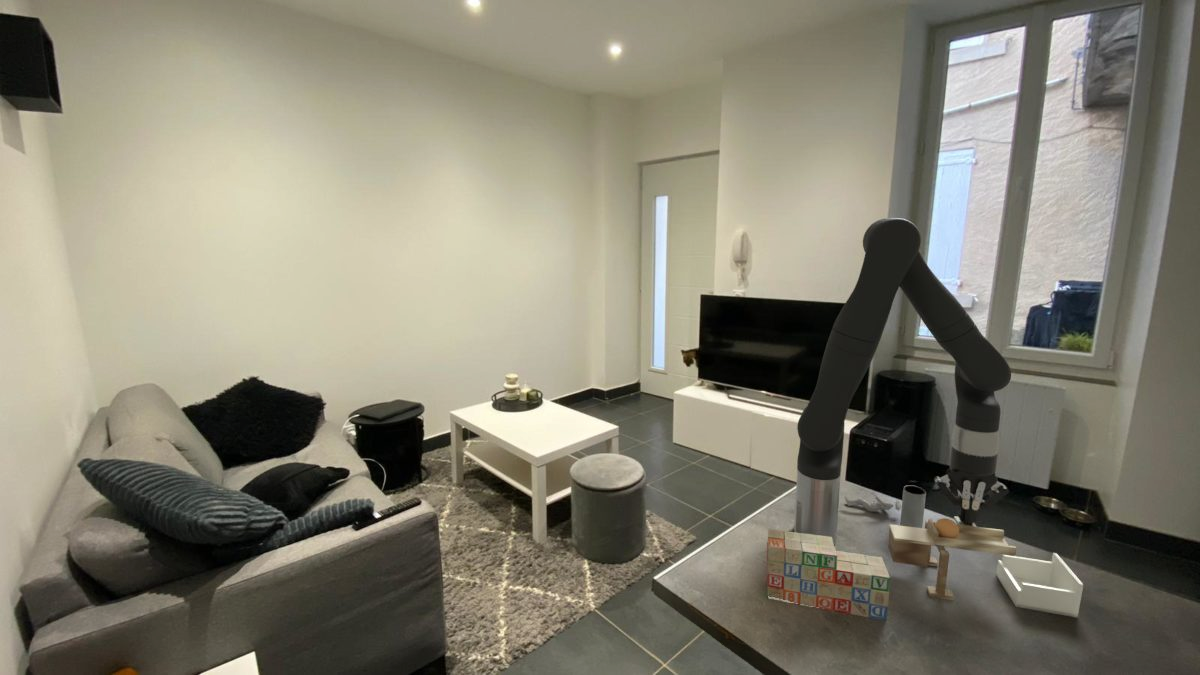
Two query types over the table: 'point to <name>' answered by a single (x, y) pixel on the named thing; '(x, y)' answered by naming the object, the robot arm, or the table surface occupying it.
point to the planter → (913, 506)
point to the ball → (947, 528)
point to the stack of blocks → (825, 575)
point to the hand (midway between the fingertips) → (966, 522)
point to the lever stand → (939, 574)
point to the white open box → (1041, 584)
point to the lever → (943, 541)
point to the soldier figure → (873, 504)
